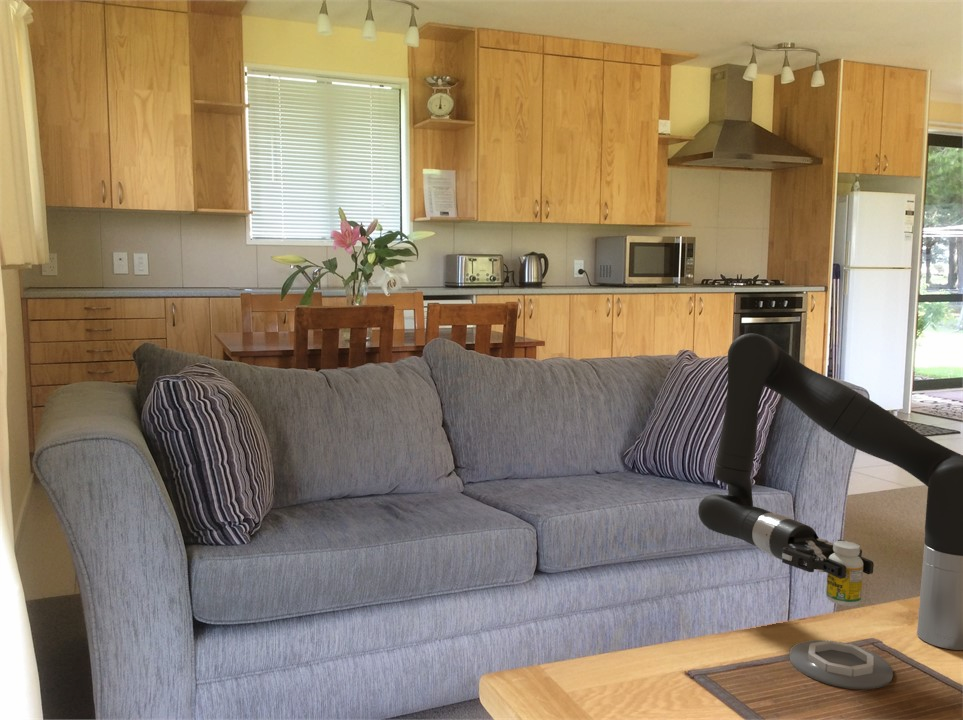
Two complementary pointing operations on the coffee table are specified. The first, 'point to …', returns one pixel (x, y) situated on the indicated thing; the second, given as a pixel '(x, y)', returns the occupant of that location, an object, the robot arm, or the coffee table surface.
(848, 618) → the coffee table surface
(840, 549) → the supplement bottle
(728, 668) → the coffee table surface
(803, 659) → the ringed coaster
